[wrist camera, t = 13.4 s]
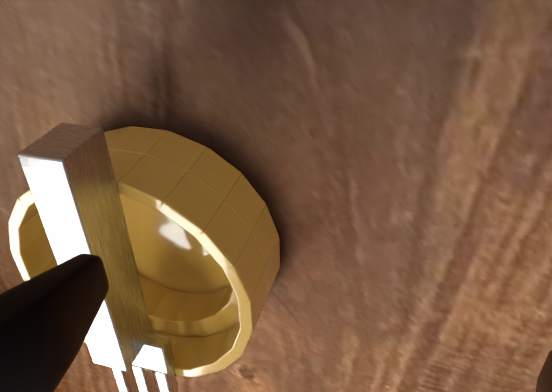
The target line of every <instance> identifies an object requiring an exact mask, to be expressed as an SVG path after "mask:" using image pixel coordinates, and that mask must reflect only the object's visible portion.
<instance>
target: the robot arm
mask: <svg viewBox="0 0 552 392" xmlns="http://www.w3.org/2000/svg"><path fill="white" fill-rule="evenodd" d="M108 289H109V281H108V278H107V274H106V271H105V267H104V264H103V261H102V259H101V258H100V257H99V256H96V255H91V254H86V253H82V254H79V255H77V256H75V257H73V258H71V259H69V260H67V261H65V262H63V263H61V264H59V265H57V266H55V267H53V268H51V269H49V270H47V271H45V272H43V273H41V274H39V275H37V276H35V277H33V278H31V279H29V280H27V281H25V282H23V283H21V284H19V285H17V286H15V287H13V288H11V289H9V290H7V291H5V292H3V293H1V294H0V392H54V391H55V389H56V388H57V386H58V384H59V383H60V381H61V380H62V378H63V376H64V375H65V373H66V372H67V370H68V368H69V367H70V365H71V364H72V362H73V360H74V359H75V357H76V355H77V353H78V352H79V350H80V348H81V346H82V344H83V342H84V340H85V338H86V336H87V334H88V332H89V330H90V328H91V326H92V324H93V322H94V320H95V318H96V316H97V314H98V312H99V310H100V308H101V305H102V303H103V301H104V299H105V297H106V295H107V293H108ZM536 392H552V351H551V352H550V353H549V355H548V357H547V359H546V361H545V363H544V366H543V368H542V370H541V372H540V374H539V377H538V380H537V387H536Z"/></svg>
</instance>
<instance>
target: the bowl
mask: <svg viewBox="0 0 552 392" xmlns="http://www.w3.org/2000/svg"><path fill="white" fill-rule="evenodd" d="M104 134H105V138H106V143H107V147H108V151H109V155H110V159H111V163H112V167H113V171H114V175H115V179H116V183H117V187H118V191H119V196H120V200H121V204H122V208H123V212H124V216H125V220H126V224H127V228H128V232H129V236H130V240H131V245H132V249H133V253H134V257H135V261H136V265H137V269H138V273H139V277H140V281H141V285H142V289H143V293H144V298H145V302H146V306H147V310H148V314H149V318H150V322H151V326H152V330H153V332H154V333H158V334H163V335H167V336H169V337H170V340H171V345H172V349H173V354H174V358H175V363H174V365H173V369H174V373H175V376H187V377H198V376H202V375H206V374H210V373H214V372H218V371H222V370H224V369H225V368H226V367H227V366H229V365H230V364H231V363H233V362H234V361H235V360H237V359H238V358H239V357H241V356H242V355H243V353H244V351H245V349H246V346H247V344H248V342H249V339H250V337H251V335H252V333H253V330H254V328H255V325H256V323H257V321H258V318H259V316H260V314H261V311H262V309H263V307H264V304H265V302H266V299H267V297H268V295H269V292H270V290H271V288H272V285H273V283H274V280H275V278H276V276H277V273H278V271H279V269H280V268H279V267H280V242H279V235H278V233H277V230H276V227H275V225H274V222H273V220H272V217H271V215H270V212H269V210H268V207H267V206H266V203H265V202H264V201H263V199H262V198H261V197H260V196H259V194H258V193H257V192H256V191H255V189H254V188H253V187H252V186H251V184H250V183H249V182H248V180H247V179H246V178H245V177H244V175H243V174H241V172H240V171H239V170H237V169H236V168H235V167H233V166H232V165H231V164H229V163H228V162H227V161H225V160H224V159H223V158H221V157H220V156H219V155H218V154H216V153H215V152H214V151H212V150H211V149H210V148H207V147H206V146H204V145H201V144H199V143H197V142H194V141H192V140H190V139H187V138H185V137H183V136H180V135H178V134H176V133H173V132H171V131H167V130H159V129H151V128H143V127H136V126H129V127H125V128H120V129H116V130H111V131H106V132H104ZM8 229H9V241H10V250H11V253H12V256H13V258H14V260H15V263H16V265H17V267H18V270H19V272H20V274H21V277H22V279H23V281H24V282H25V281H27V280H29V279H31V278H33V277H35V276H37V275H39V274H41V273H43V272H45V271H47V270H49V269H51V268H53V267H55V266H57V262H56V259H55V256H54V254H53V251H52V248H51V245H50V243H49V240H48V237H47V235H46V232H45V229H44V226H43V224H42V221H41V218H40V215H39V213H38V210H37V207H36V205H35V202H34V199H33V196H32V194H31V191H30V188H29V189H28V190H26V191H25V192H24V193H23V194H21V195H20V196H19V197H18V198H17V201H16V203H15V206H14V208H13V211H12V213H11V216H10V218H9V221H8ZM84 342H85V343H86V341H85V340H84ZM131 367H132V365H131ZM153 373H155V370H153Z"/></svg>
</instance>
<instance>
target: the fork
mask: <svg viewBox="0 0 552 392" xmlns="http://www.w3.org/2000/svg"><path fill="white" fill-rule="evenodd" d="M18 158H19V161H20V164H21V166H22V169H23V172H24V175H25V177H26V180H27V183H28V185H29V188H30V191H31V194H32V196H33V199H34V202H35V205H36V207H37V210H38V213H39V215H40V218H41V221H42V224H43V226H44V229H45V232H46V235H47V237H48V240H49V243H50V245H51V248H52V251H53V254H54V256H55V259H56V262H57V265H59V264H61V263H63V262H65V261H67V260H69V259H71V258H73V257H75V256H77V255H79V254H82V253H86V254H91V255H96V256H99V257H100V258H101V259H102V261H103V264H104V267H105V271H106V274H107V278H108V281H109V289H108V293H107V295H106V297H105V299H104V301H103V303H102V305H101V308H100V310H99V312H98V314H97V316H96V318H95V320H94V322H93V324H92V326H91V328H90V330H89V332H88V334H87V336H86V338H85V341H86V344H87V346H88V349H89V352H90V355H91V357H92V360H93V362H94V363H96V364H100V365H104V366H108V367H112V370H113V373H114V376H115V379H116V382H117V385H118V388H119V391H120V392H158V389H157V385H156V381H155V377H154V373H153V370H155V374H156V378H157V382H158V385H159V389H160V392H179V391H178V386H177V382H176V378H175V373H174V369H173V365H174V363H175V358H174V354H173V349H172V345H171V340H170V337H169V336H167V335H163V334H158V333H154V332H153V330H152V326H151V322H150V318H149V314H148V310H147V306H146V302H145V298H144V293H143V289H142V285H141V281H140V277H139V273H138V269H137V265H136V261H135V257H134V253H133V249H132V245H131V240H130V236H129V232H128V228H127V224H126V220H125V216H124V212H123V208H122V204H121V200H120V196H119V191H118V187H117V183H116V179H115V175H114V171H113V167H112V163H111V159H110V155H109V151H108V147H107V143H106V138H105V134H104V130H103V129H102V128H97V127H89V126H82V125H74V124H66V123H60V124H59V125H58V126H56V127H55V128H53V129H52V130H51V131H49V132H48V133H46V134H45V135H43V136H42V137H41V138H39V139H38V140H36V141H35V142H34V143H32V144H31V145H29V146H28V147H26V148H25V149H24V150H22V151H21V152H19V153H18ZM131 365H132V367H131ZM132 368H133V371H132ZM133 372H134V374H133ZM134 375H135V377H134ZM135 378H136V381H135ZM136 382H137V384H136ZM137 385H138V387H137ZM138 388H139V391H138Z"/></svg>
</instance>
